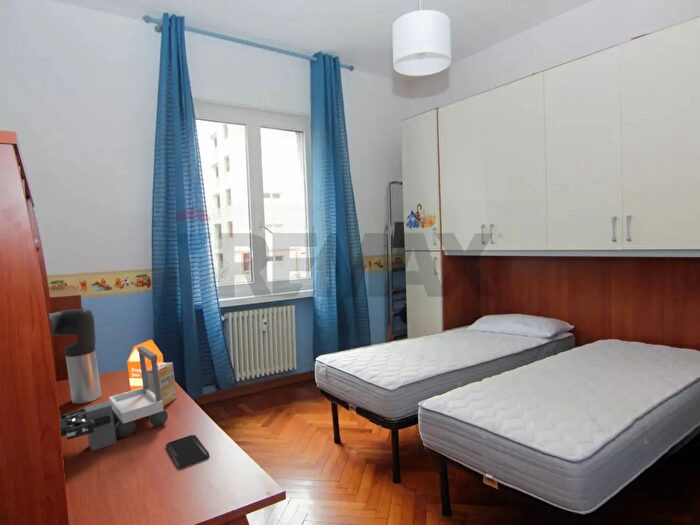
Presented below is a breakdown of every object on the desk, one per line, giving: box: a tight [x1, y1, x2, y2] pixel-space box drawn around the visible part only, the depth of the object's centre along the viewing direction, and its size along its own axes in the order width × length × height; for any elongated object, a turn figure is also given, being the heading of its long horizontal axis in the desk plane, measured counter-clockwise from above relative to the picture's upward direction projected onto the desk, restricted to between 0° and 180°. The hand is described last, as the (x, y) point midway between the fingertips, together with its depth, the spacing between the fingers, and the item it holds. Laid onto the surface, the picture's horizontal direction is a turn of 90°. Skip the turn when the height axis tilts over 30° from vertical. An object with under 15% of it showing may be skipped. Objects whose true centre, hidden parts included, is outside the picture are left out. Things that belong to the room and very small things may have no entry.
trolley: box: [108, 346, 169, 439], centre depth 132 cm, size 18×14×22 cm
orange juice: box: [127, 339, 164, 391], centre depth 154 cm, size 8×9×20 cm
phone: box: [165, 434, 210, 469], centre depth 113 cm, size 8×1×15 cm
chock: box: [83, 400, 117, 452], centre depth 121 cm, size 4×6×11 cm
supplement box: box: [147, 361, 177, 408], centre depth 148 cm, size 8×5×13 cm, turn 168°
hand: (107, 414), depth 122 cm, fingers open, 8 cm apart
